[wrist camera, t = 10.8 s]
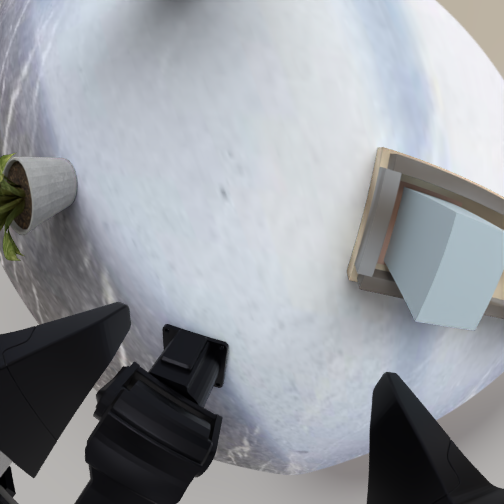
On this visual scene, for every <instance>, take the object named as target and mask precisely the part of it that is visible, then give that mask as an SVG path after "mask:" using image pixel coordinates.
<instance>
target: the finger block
mask: <svg viewBox="0 0 504 504" xmlns="http://www.w3.org/2000/svg"><path fill="white" fill-rule="evenodd" d="M384 262H385V264H386V266H387V267H388V269H389V271H390V273H391V275H392V276H393V278H394V280H395V282H396V284H397V286H398V288H399V290H400V292H401V294H402V296H403V298H404V300H405V302H406V304H407V306H408V308H409V310H410V312H411V314H412V316H413V318H414V320H415V322H421V323H427V324H433V325H440V326H446V327H453V328H459V329H466V330H473V331H475V329H476V327H477V325H478V324H479V322H480V320H481V318H482V316H483V314H484V312H485V310H486V308H487V306H488V304H489V302H490V300H491V298H492V296H493V294H494V291H495V289H496V287H497V285H498V282H499V280H500V277H501V275H502V273H503V270H504V230H502V229H500V228H499V227H497V226H495V225H493V224H492V223H490V222H488V221H486V220H484V219H483V218H481V217H479V216H477V215H475V214H473V213H471V212H469V211H467V210H465V209H463V208H461V207H459V206H457V205H455V204H453V203H450V202H448V201H445V200H442V199H439V198H436V197H434V196H431V195H428V194H425V193H422V192H419V191H416V190H413V189H410V188H407V187H404V189H403V194H402V198H401V202H400V206H399V210H398V213H397V217H396V221H395V224H394V228H393V231H392V235H391V238H390V242H389V245H388V248H387V251H386V254H385V257H384Z"/></svg>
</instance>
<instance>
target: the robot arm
mask: <svg viewBox="0 0 504 504" xmlns="http://www.w3.org/2000/svg"><path fill="white" fill-rule="evenodd" d="M130 326H131V319H130V310H129V306H128V305H126V304H124V303H121V302H116V303H112V304H109V305H105V306H102V307H99V308H95V309H92V310H89V311H85V312H82V313H78V314H75V315H72V316H68V317H65V318H61V319H58V320H54V321H51V322H48V323H44V324H41V325H37V326H36V327H35V326H34V327H30V328H27V329H23V330H19V331H15V332H10V333H6V334H0V504H18V503H17V502H16V501H15V500H14V499H13V496H14V495H15V494H16V493H15V488H14V484H13V478H12V472H11V467H10V466H9V465H10V464H11V463H12V461H13V462H14V463H15V464H16V465H17V466H19V467H20V468H21V469H22V470H24V471H25V472H26V473H27V474H29V475H30V476H31V477H33V478H35V476H36V475H37V473H38V471H39V470H40V468H41V466H42V465H43V463H44V461H45V460H46V458H47V456H48V455H49V453H50V452H51V450H52V448H53V446H54V445H55V444H56V442H57V440H58V439H59V437H60V435H61V434H62V432H63V431H64V429H65V427H66V426H67V425H68V423H69V421H70V420H71V418H72V417H73V415H74V414H75V412H76V411H77V409H78V408H79V406H80V405H81V404H82V402H83V401H84V399H85V398H86V396H87V395H88V393H89V392H90V390H91V389H92V388H93V386H94V385H95V383H96V382H97V380H98V379H99V378H100V376H101V375H102V373H103V372H104V371H105V369H106V368H107V366H108V365H109V363H110V362H111V361H112V359H113V357H114V356H115V354H116V352H117V350H118V349H119V347H120V345H121V343H122V342H123V340H124V338H125V336H126V335H127V333H128V331H129V329H130ZM163 344H164V351H163V352H162V354H161V355H160V357H159V358H158V359H157V361H156V362H155V364H154V365H153V366H152V368H151V369H150V371H149V372H147V371H145V370H144V369H143V368H141V367H140V365H139V364H137V363H136V362H135V361H134V362H133V364H132V365H131V366H130V367H129V366H127V367H124V366H123V367H122V369H121V370H120V371H119V372H118V373H117V375H116V376H115V377H114V378H113V379H112V380H111V381H110V382H108V383H107V384H106V385H105V386H104V387H102V388H101V389H100V390H99V391H98V392H97V394H96V399H97V405H96V410H95V412H94V415H93V416H94V417H95V418H96V419H98V420H99V423H98V424H97V426H96V428H95V429H94V431H93V432H92V434H91V435H90V437H89V438H88V440H87V446H86V448H85V461H86V463H88V464H89V470H90V478H91V479H90V480H89V482H88V484H87V485H86V487H85V488H84V490H83V491H82V493H81V495H80V496H79V497H78V499H77V500H76V502H75V504H176V503H178V502H179V501H180V499H181V498H182V496H183V494H184V492H185V491H186V489H187V487H188V486H189V484H190V482H191V481H192V480H193V478H194V477H199V476H200V475H202V474H203V473H204V472H205V471H206V470H207V468H208V467H209V465H210V464H211V462H212V460H213V458H214V456H215V453H216V450H217V445H218V439H219V434H220V428H221V423H222V417H221V416H219V415H218V414H214V413H212V412H210V411H208V410H207V409H205V408H204V406H205V403H206V401H207V399H208V397H209V395H210V392H211V390H212V388H213V386H215V387H218V388H221V387H222V386H223V384H224V377H225V369H226V362H227V355H228V344H227V343H226V342H223V341H220V340H216V339H213V338H210V337H206V336H203V335H200V334H196V333H193V332H190V331H187V330H184V329H181V328H178V327H175V326H172V325H169V324H166V325H165V326H164V327H163ZM221 346H223V347H224V348H223V347H221ZM367 504H504V489H502V488H498V487H496V486H493V485H492V484H491V483H489V481H488V480H487V479H486V478H485V477H484V476H483V475H482V474H481V473H480V472H479V471H478V470H477V469H476V468H475V467H474V466H473V465H472V464H471V462H470V461H469V460H468V459H467V458H466V457H465V456H464V455H463V453H462V452H461V451H460V450H459V449H458V447H457V446H456V445H455V444H454V442H453V441H452V440H450V437H449V436H448V435H447V434H446V432H445V431H444V430H443V429H442V427H441V426H440V425H439V424H438V422H437V421H436V420H435V419H434V418H433V416H432V415H431V414H430V413H429V411H428V410H427V409H426V408H425V407H424V405H423V404H422V403H421V402H420V401H419V399H418V398H417V397H416V396H415V395H414V393H413V392H412V391H411V390H410V389H409V387H408V386H407V385H406V384H405V383H404V382H403V380H402V379H401V378H400V377H399V376H398V375H397V374H396V373H391V372H386V373H384V374H383V376H382V377H381V379H380V380H379V382H378V383H377V385H376V386H375V388H374V390H373V397H372V410H371V421H370V451H369V480H368V494H367Z"/></svg>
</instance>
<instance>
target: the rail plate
mask: <svg viewBox="0 0 504 504" xmlns="http://www.w3.org/2000/svg"><path fill="white" fill-rule="evenodd" d="M404 187H407V188H410V189H413V190H416V191H419V192H422V193H425V194H428V195H431V196H434V197H436V198H439V199H442V200H445V201H448V202H450V203H453V204H455V205H457V206H459V207H461V208H463V209H465V210H467V211H469V212H471V213H473V214H475V215H477V216H479V217H481V218H483V219H484V220H486V221H488V222H490V223H492V224H493V225H495V226H497V227H499V228H500V229H502V230H504V197H502V196H500V195H499V194H497V193H495V192H493V191H491V190H489V189H487V188H485V187H483V186H481V185H479V184H477V183H475V182H473V181H470V180H468V179H466V178H464V177H462V176H459V175H457V174H455V173H453V172H450V171H448V170H445V169H443V168H441V167H438V166H436V165H433V164H430V163H428V162H425V161H423V160H420V159H417V158H414V157H411V156H409V155H406V154H403V153H400V152H397V151H394V150H391V149H387V148H384V147H378V150H377V155H376V160H375V165H374V170H373V175H372V179H371V184H370V188H369V192H368V197H367V201H366V205H365V209H364V213H363V217H362V220H361V224H360V228H359V232H358V235H357V239H356V242H355V246H354V249H353V252H352V256H351V259H350V262H349V266H348V269H347V274H348V278H349V280H350V281H354V282H358V284H359V288H360V289H361V290H366V291H370V292H375V293H380V294H384V295H389V296H394V297H398V298H403V296H402V294H401V292H400V290H399V288H398V286H397V284H396V282H395V280H394V278H393V276H392V275H391V273H390V271H389V269H388V267H387V266H386V264H385V262H384V257H385V254H386V251H387V248H388V245H389V242H390V238H391V235H392V231H393V228H394V224H395V221H396V217H397V213H398V210H399V206H400V202H401V198H402V194H403V189H404ZM403 299H404V298H403ZM483 315H487V316H492V317H497V318H502V319H504V270H503V273H502V275H501V277H500V280H499V282H498V285H497V287H496V289H495V291H494V294H493V296H492V298H491V300H490V302H489V304H488V306H487V308H486V310H485V312H484V314H483Z"/></svg>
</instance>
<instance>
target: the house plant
mask: <svg viewBox="0 0 504 504" xmlns="http://www.w3.org/2000/svg"><path fill="white" fill-rule="evenodd" d="M14 154H15V153H14ZM14 154H10V155H3V156H2V157H1V158H0V231H1V229H2V227H3V226H4V224H5V234H4V239H3V251H4V255H5V258H6V259H7V260H11V261H21V260H19V259H18V258H17V257H16V254H19V255H22V254H21V253H20V251H19V250H18V248H17V246H16V244H15V243H14V241H13V239H12V237H11V235H10V233H9V226H11V227H12V229H13V230H14V231H15V232H16V233H18V234H19V235H25V234H27V233H29V232H30V231H31V230H33V229H34V228H36V227H37V226H39V225H40V224H42V223H43V222H45V221H46V220H48V219H49V218H51V217H52V216H54V215H55V214H57V213H59V212H60V211H62V210H63V209H65V208H67V207H68V206H70V205H71V204H72V203H73V201H74V199H75V197H76V192H77V177H76V173H75V170H74V168H73V166H72V164H71V163H70V162H69V161H68V160H67V159H64V158H47V157H13V158H11V156H12V155H14ZM10 158H11V159H10ZM9 159H10V160H9ZM8 160H9V161H8ZM3 170H4V171H3ZM2 173H3V174H2ZM7 229H8V233H6V231H7ZM15 253H16V254H15ZM22 256H24V255H22Z"/></svg>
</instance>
